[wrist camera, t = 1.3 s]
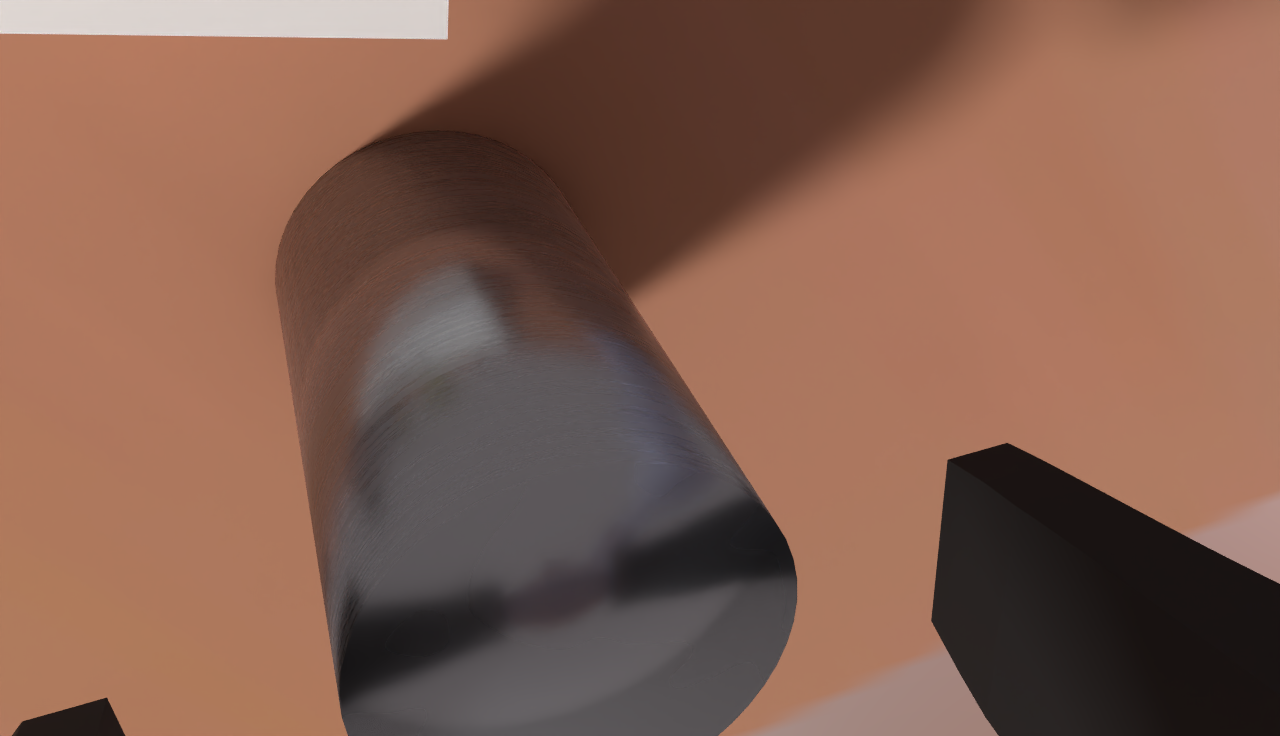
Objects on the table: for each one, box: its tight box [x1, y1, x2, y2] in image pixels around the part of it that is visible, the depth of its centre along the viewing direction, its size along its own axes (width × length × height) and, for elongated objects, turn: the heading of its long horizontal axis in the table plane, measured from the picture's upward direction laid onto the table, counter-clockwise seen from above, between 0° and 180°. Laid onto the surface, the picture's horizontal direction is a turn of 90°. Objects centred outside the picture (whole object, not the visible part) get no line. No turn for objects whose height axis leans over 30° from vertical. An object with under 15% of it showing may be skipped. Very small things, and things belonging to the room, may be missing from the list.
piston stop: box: [275, 131, 797, 736], centre depth 13 cm, size 4×4×7 cm
